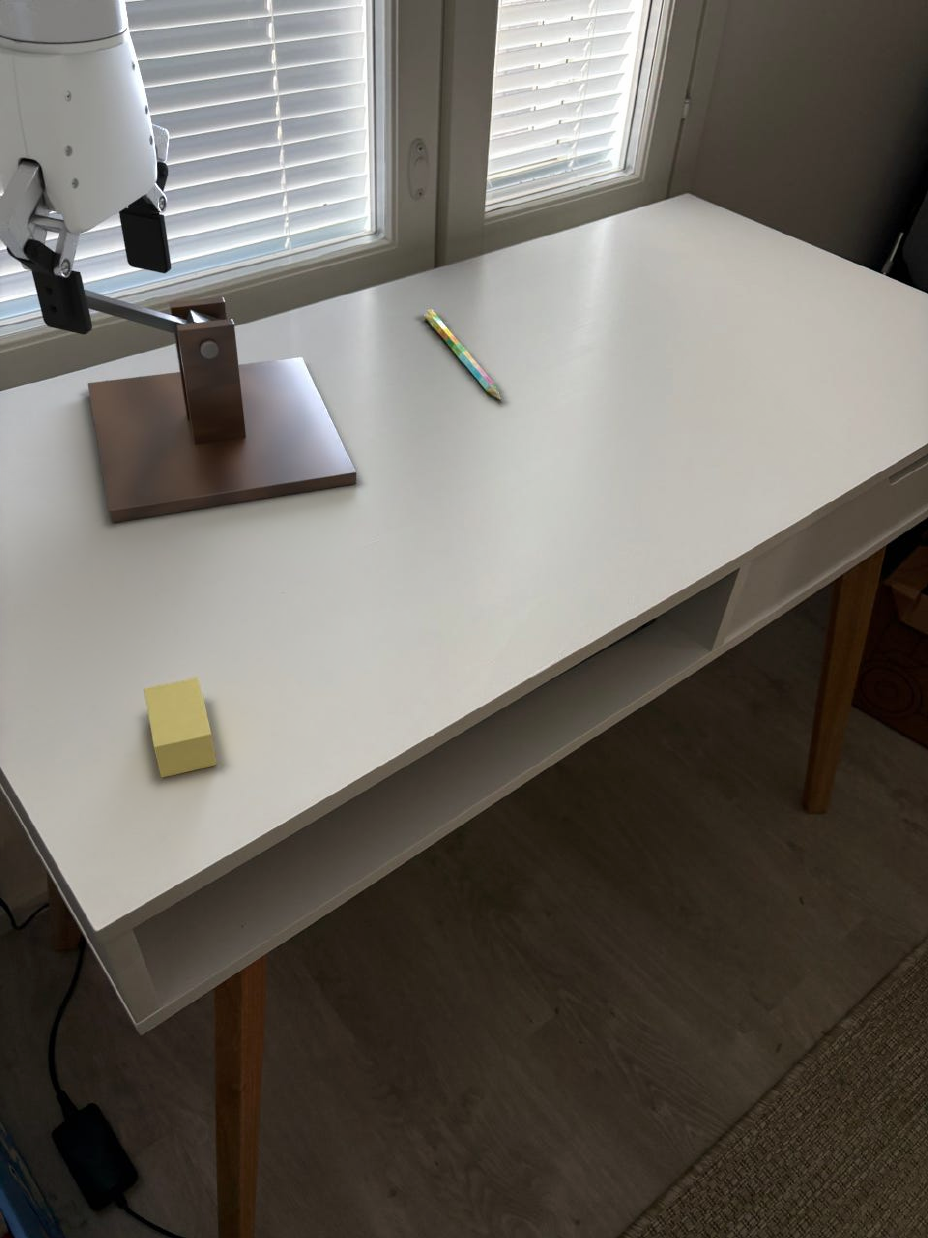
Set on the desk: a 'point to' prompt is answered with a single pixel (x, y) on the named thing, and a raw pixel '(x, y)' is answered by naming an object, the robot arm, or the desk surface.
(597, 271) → the desk surface
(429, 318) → the pencil
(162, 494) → the slicer
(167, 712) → the butter
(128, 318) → the lever
